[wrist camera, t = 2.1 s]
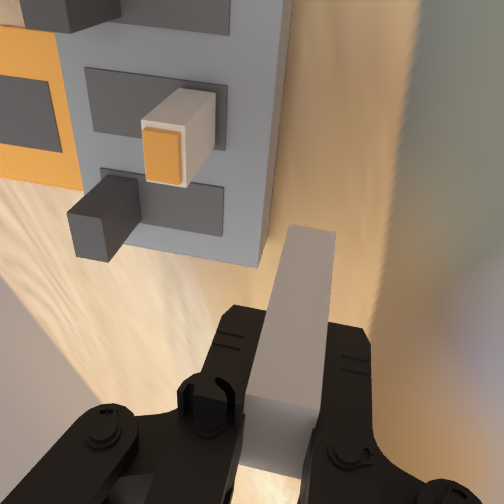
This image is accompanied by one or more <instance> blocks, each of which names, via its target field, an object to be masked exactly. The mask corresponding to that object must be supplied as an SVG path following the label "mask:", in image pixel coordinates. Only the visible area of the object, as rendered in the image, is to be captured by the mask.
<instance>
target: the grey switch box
mask: <svg viewBox="0 0 504 504" xmlns="http://www.w3.org/2000/svg"><path fill="white" fill-rule="evenodd" d="M20 4H21V9H22V13H23V18H24V22H25V27H26V29H32V30H41V31H49V32H54V33H55V38H56V44H57V49H58V54H59V60H60V65H61V70H62V76H63V81H64V87H65V92H66V97H67V103H68V108H69V113H70V119H71V124H72V130H73V135H74V140H75V146H76V151H77V156H78V162H79V167H80V173H81V178H82V183H83V189H84V194H85V196H84V197H83V198H82V199H81V200H80V201H78V202H77V203H76V204H75V205H74V206H73V207H72V208H71V209H70V210H69V211H68V212H67V217H68V222H69V226H70V231H71V235H72V240H73V244H74V249H75V254H76V257H81V258H86V259H91V260H97V261H102V262H107V263H109V261H110V260H111V259H112V257H113V256H114V255H115V254H116V252H117V251H118V250H119V248H120V247H121V246H122V245H123V244H126V245H131V246H137V247H142V248H148V249H153V250H159V251H164V252H170V253H175V254H181V255H186V256H192V257H197V258H203V259H208V260H214V261H219V262H225V263H230V264H236V265H241V266H247V267H253V268H258V265H259V262H260V259H261V255H262V252H263V249H264V246H265V243H266V240H267V236H268V227H269V218H270V209H271V200H272V190H273V181H274V172H275V163H276V153H277V144H278V135H279V126H280V116H281V107H282V98H283V89H284V79H285V70H286V61H287V52H288V42H289V33H290V24H291V15H292V5H293V0H20ZM178 88H184V89H192V90H199V91H207V92H214V93H216V108H215V147H214V149H213V150H212V152H211V153H210V155H209V156H208V158H207V159H206V160H205V162H204V163H203V165H202V166H201V168H200V169H199V171H198V172H197V173H196V175H195V176H194V178H193V179H192V181H191V182H190V183H189V185H188V186H187V188H184V187H178V186H172V185H166V184H159V183H153V182H147V181H146V174H145V162H144V151H143V139H142V128H141V119H142V118H143V117H145V116H146V115H147V114H148V113H149V112H151V111H152V110H153V109H154V108H155V107H157V106H158V105H159V104H160V103H161V102H163V101H164V100H165V99H166V98H167V97H169V96H170V95H171V94H172V93H173V92H175V91H176V90H177V89H178Z"/></svg>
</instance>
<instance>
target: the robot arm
mask: <svg viewBox="0 0 504 504" xmlns="http://www.w3.org/2000/svg"><path fill="white" fill-rule="evenodd" d="M335 238H336V232H333V231H327V230H321V229H315V228H309V227H303V226H297V225H291V224H289V227H288V231H287V235H286V239H285V243H284V247H283V250H282V254H281V258H280V262H279V266H278V270H277V274H276V277H275V281H274V285H273V289H272V293H271V297H270V301H269V304H268V308H267V311H265V310H259V309H254V308H249V307H244V306H239V305H233V306H232V307H231V308H230V309H229V310H228V311H227V312H226V313H225V314H223V315H222V317H221V320H220V322H219V325H218V328H217V330H216V333H215V336H214V338H213V341H212V345H211V346H210V349H209V352H208V354H207V357H206V360H205V362H204V365H203V368H202V370H201V372H200V373H196V374H193V375H192V376H190V377H189V378H187V379H186V380H184V381H183V382H182V384H181V385H180V387H179V388H178V390H177V403H178V408H177V409H175V410H172V411H170V412H167V413H162V414H155V415H143V416H134V414H133V413H132V412H131V411H130V410H129V409H128V408H126V407H125V406H122V405H118V404H114V403H112V404H101V405H99V406H96V407H94V408H91V409H89V410H88V411H86V412H85V413H84V414H83V415H81V416H80V417H79V418H78V419H77V420H76V421H75V422H74V423H73V424H72V425H71V427H70V428H69V429H68V430H67V431H66V432H65V433H64V434H63V435H62V437H61V438H60V439H59V440H58V441H57V442H56V443H55V444H54V445H53V446H52V447H51V449H50V450H49V451H48V452H47V453H46V454H45V455H44V456H43V457H42V459H41V460H40V461H39V462H38V463H37V464H36V465H35V466H34V467H33V468H32V469H31V471H30V472H29V473H28V474H27V475H26V476H25V477H24V478H23V479H22V480H21V482H20V483H19V484H18V485H17V486H16V487H15V488H14V489H13V490H12V491H11V492H10V494H9V495H8V496H7V497H6V498H5V499H4V500H3V501H2V502H1V503H0V504H231V500H232V496H233V491H234V481H235V476H236V472H237V468H238V464H240V465H244V466H248V467H252V468H256V469H260V470H264V471H269V472H273V473H277V474H281V475H285V476H289V477H293V478H297V479H301V477H302V479H301V487H300V495H299V499H298V502H297V504H482V502H481V501H480V500H479V499H478V498H477V497H476V496H475V495H474V494H473V493H472V492H471V491H470V490H469V489H468V488H466V487H464V486H462V485H460V484H458V483H457V482H455V481H451V480H446V479H436V480H431V481H429V482H427V483H424V482H422V481H421V480H418V479H417V478H415V477H414V476H412V475H410V474H408V473H406V472H404V471H403V470H401V469H400V468H398V467H397V466H395V465H394V464H392V463H391V462H390V461H389V460H388V459H387V458H386V457H385V456H384V455H383V453H382V452H381V450H380V449H379V447H378V446H377V443H376V441H375V438H374V435H373V429H372V387H371V386H372V385H371V344H370V342H369V340H368V338H367V336H366V334H365V332H364V330H363V328H357V327H352V326H347V325H342V324H337V323H332V322H328V315H329V304H330V293H331V282H332V271H333V260H334V249H335Z"/></svg>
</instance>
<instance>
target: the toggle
mask: <svg viewBox="0 0 504 504" xmlns="http://www.w3.org/2000/svg"><path fill="white" fill-rule="evenodd" d="M215 108H216V93H214V92H207V91H199V90H192V89H184V88H178V89H177V90H176V91H175V92H173V93H172V94H171V95H170V96H169V97H167V98H166V99H165V100H164V101H163V102H161V103H160V104H159V105H158V106H157V107H155V108H154V109H153V110H152V111H151V112H149V113H148V114H147V115H146V116H145V117H143V118H142V119H141V128H142V139H143V151H144V162H145V174H146V181H147V182H153V183H159V184H166V185H172V186H178V187H184V188H187V186H188V185H189V183H190V182H191V181H192V179H193V178H194V176H195V175H196V173H197V172H198V171H199V169H200V168H201V166H202V165H203V163H204V162H205V160H206V159H207V158H208V156H209V155H210V153H211V152H212V150H213V149H214V147H215Z"/></svg>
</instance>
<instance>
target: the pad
mask: <svg viewBox="0 0 504 504" xmlns="http://www.w3.org/2000/svg"><path fill="white" fill-rule="evenodd" d="M0 177H1V178H7V179H13V180H19V181H25V182H31V183H37V184H43V185H49V186H55V187H61V188H67V189H73V190H79V191H84V189H83V183H82V178H81V173H80V167H79V162H78V156H77V151H76V146H75V140H74V135H73V130H72V124H71V119H70V113H69V108H68V103H67V97H66V92H65V87H64V81H63V76H62V70H61V65H60V60H59V54H58V49H57V44H56V38H55V33H54V32H49V31H41V30H32V29H26V28H21V27H13V26H4V25H0Z"/></svg>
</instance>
